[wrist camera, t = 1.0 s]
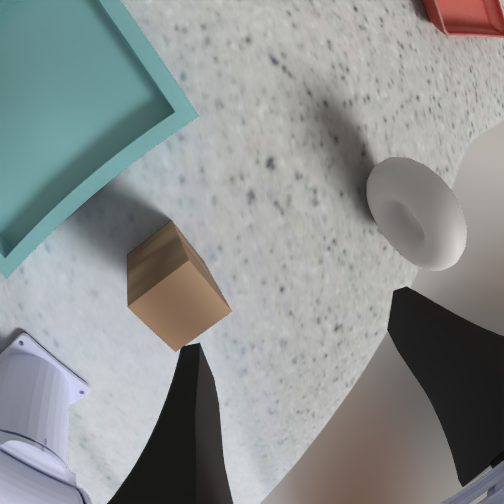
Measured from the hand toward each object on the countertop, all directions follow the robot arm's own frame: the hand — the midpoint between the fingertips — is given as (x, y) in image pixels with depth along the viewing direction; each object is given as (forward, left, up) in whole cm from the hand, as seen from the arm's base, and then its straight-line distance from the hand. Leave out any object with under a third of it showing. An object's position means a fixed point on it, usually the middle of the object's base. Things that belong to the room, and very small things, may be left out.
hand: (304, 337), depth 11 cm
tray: (-5, +15, -14) cm, 21 cm away
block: (-4, 0, -14) cm, 14 cm away
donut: (+13, -7, -14) cm, 20 cm away
